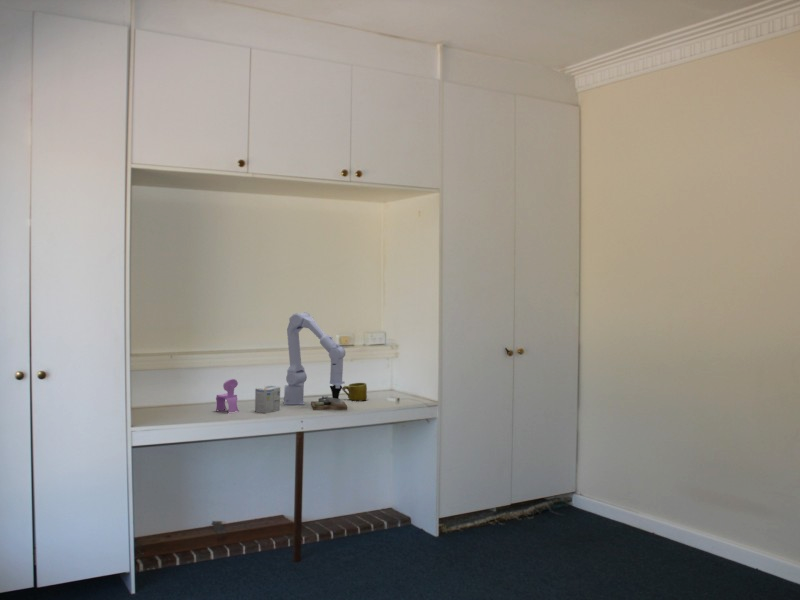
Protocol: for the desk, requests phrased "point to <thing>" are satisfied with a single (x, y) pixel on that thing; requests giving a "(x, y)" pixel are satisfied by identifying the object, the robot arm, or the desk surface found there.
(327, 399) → the grey lever handle
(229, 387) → the toy chair
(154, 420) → the desk surface
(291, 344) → the robot arm
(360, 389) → the mug
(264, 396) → the light bulb box
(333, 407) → the base
